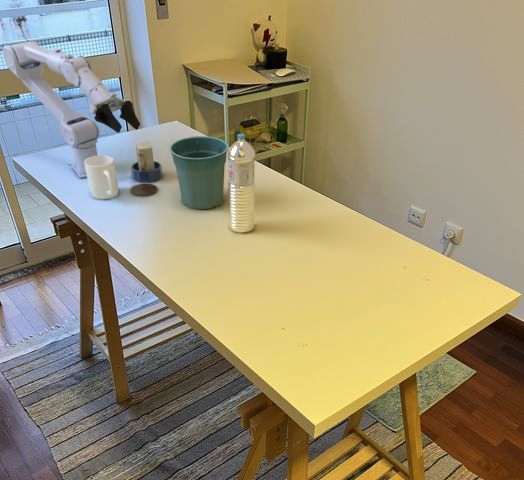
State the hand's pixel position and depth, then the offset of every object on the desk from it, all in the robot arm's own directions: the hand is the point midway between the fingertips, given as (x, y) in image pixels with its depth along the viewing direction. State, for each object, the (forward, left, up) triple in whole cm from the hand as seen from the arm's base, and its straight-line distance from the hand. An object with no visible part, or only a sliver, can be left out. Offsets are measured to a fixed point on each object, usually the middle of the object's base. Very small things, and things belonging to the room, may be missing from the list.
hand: (129, 128), depth 152 cm
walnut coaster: (+1, +2, -19) cm, 19 cm away
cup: (0, -9, -19) cm, 21 cm away
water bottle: (+35, +18, -19) cm, 44 cm away
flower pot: (+15, +15, -19) cm, 28 cm away
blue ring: (-9, +6, -19) cm, 21 cm away
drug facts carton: (-9, +6, -19) cm, 21 cm away
